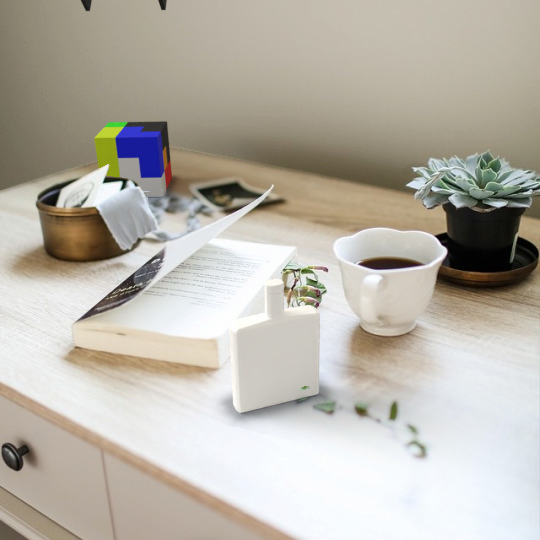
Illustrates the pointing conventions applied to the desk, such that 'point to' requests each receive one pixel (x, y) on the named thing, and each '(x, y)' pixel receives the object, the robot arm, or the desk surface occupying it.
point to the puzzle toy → (137, 154)
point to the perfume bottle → (274, 353)
